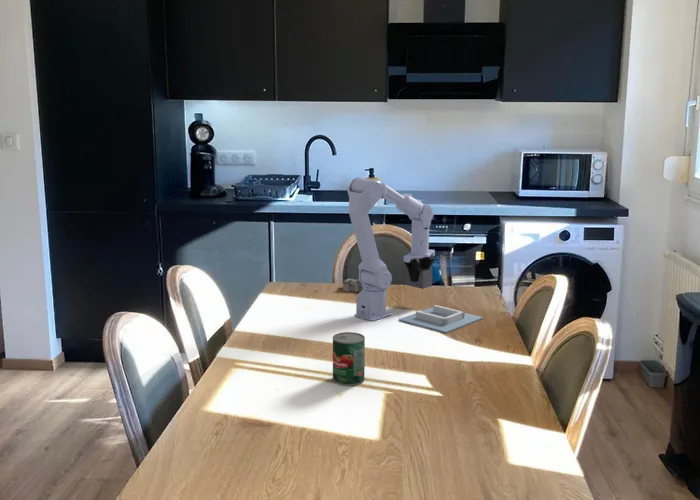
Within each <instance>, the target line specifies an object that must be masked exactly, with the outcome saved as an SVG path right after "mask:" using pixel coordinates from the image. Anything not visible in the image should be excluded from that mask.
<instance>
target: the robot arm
mask: <svg viewBox="0 0 700 500" xmlns="http://www.w3.org/2000/svg"><path fill="white" fill-rule="evenodd" d="M346 191H347V194H348V199H349V200H348V214H349V219H350V222H351V225H352V230H353V232H354V233H353V234H354V236H355V239H356V240H355V241H356V243H357V247H358V251H359V255H360V258H361V262H360V263H359V264H358V265H357V267H358V279H359V280H360V282H361V283H362V287H364V288H363V290H362V291H359V292H358V294H357V295H356V299H355V300H356V303H355V304H356V307H355V309H356V311H355V312H356V313H355V314H354V317H356V318H359V319H364V320H367V321H371V322H374V321H379V320H380V319H383V318H386V317H389V316H392V312H387V291H388V289H389V287H390V286H391V284H392V281H393V276H392V274H391V272H390V271H389V270H388V267H387V264H385V262H384V261H383V260H382V259H381V257H380V255H379V250H378V247H377V243H376V239H375V235H374V232H373V227H372V224H371V220H370V217H369V212H370V211H371V210H372V209H373V208H374V207H375V205H376V204H377V203H378V202H379V201H380V200H381V199H385V200H387V201H389V202H390V203H393V204H395V208H396V209H397V210H398V211H400V212H401V213H403V214H405V215H406V216H408V218H409V220H411V240H410V246H411V247H410V252H409V253H407V254H406V255H403V262H404V265H405V266H406V267H407V269H408V272H409V275H410V280H411V281H412V282H417V279H418V271H419V267H420V266H423V267H428V268H432V265H433V264H434V262H435V255H436V253H435V252H436V251H435V249H429V246H430V245H429V244H430V243H429V241H430V227H431V225H432V220H433V218H434V215H435V212H434V211H433V208H432V207H431V205H429V204H425V203H423V202H422V200H420V199H416V198H415V197H413V194H412V193H401V194H400V193H399V192H398V191H396V190H395V189H393V188H392V187H390V186H389V185H387V184H386V183H385V182H383V181H380V180H378V179H369V178H362V177H355V178H353V179H352V180H351V181H350V183H349V185H348V187H347V189H346ZM406 267H405V268H406Z"/></svg>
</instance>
